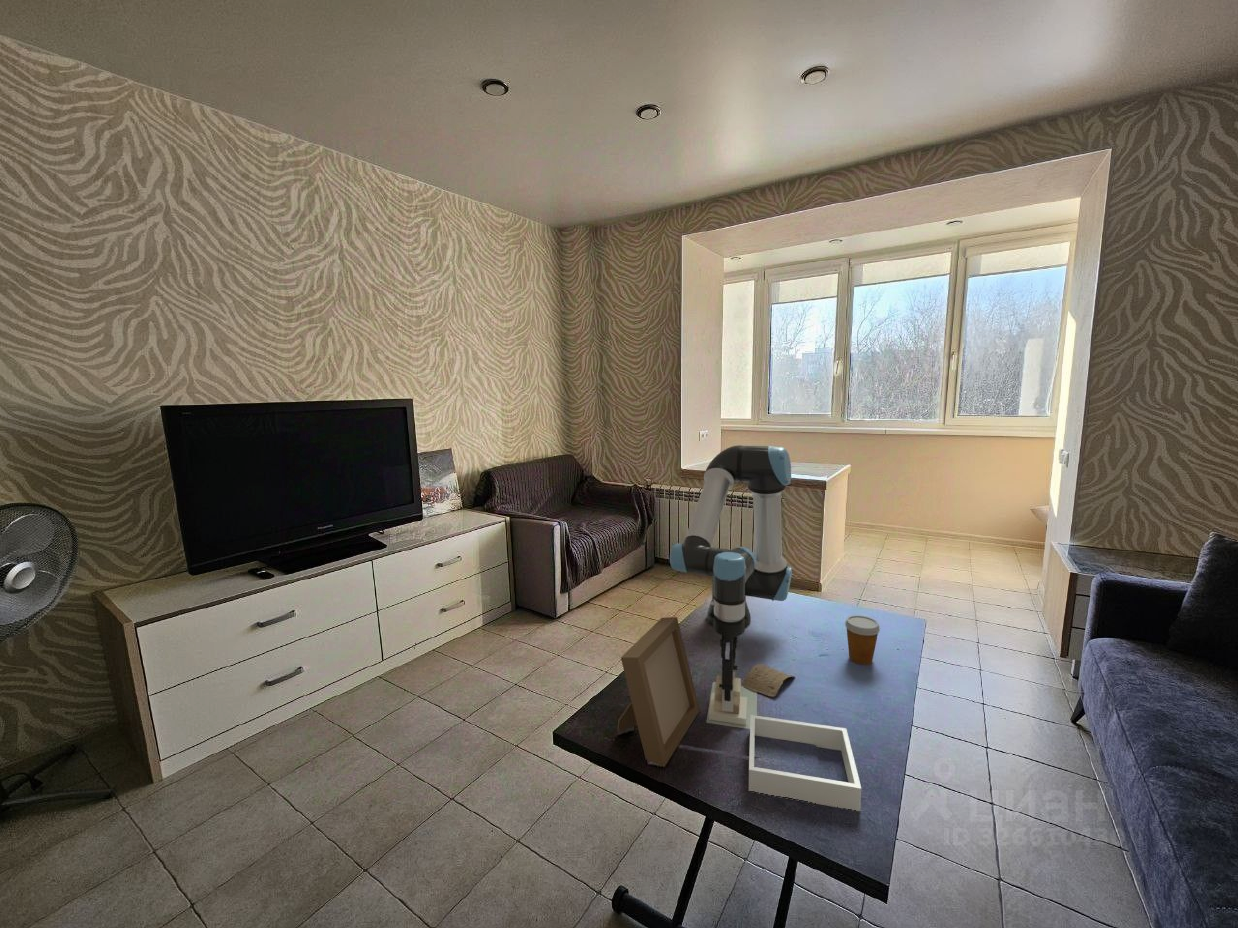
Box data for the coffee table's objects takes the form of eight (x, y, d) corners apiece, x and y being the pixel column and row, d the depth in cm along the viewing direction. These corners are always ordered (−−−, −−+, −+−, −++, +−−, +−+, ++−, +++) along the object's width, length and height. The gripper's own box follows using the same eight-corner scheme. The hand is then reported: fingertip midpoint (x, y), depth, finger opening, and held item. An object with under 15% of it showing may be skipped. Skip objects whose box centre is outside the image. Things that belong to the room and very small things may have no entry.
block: (740, 699, 131) (740, 678, 130) (738, 714, 125) (739, 691, 124) (716, 696, 132) (717, 674, 131) (714, 710, 126) (714, 687, 126)
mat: (712, 683, 142) (712, 681, 142) (757, 689, 139) (757, 687, 139) (706, 724, 125) (706, 722, 125) (756, 732, 122) (756, 729, 122)
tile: (712, 692, 134) (708, 713, 125) (747, 697, 132) (746, 718, 123) (712, 698, 134) (708, 719, 126) (747, 703, 132) (746, 725, 123)
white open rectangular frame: (750, 733, 121) (750, 714, 120) (845, 748, 116) (846, 728, 115) (748, 791, 104) (748, 769, 103) (860, 811, 98) (861, 788, 98)
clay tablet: (775, 699, 133) (775, 689, 133) (740, 685, 140) (740, 675, 139) (797, 678, 144) (797, 669, 144) (763, 666, 150) (764, 657, 150)
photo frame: (699, 714, 129) (698, 621, 125) (664, 770, 110) (661, 663, 107) (647, 698, 136) (644, 610, 133) (605, 749, 117) (601, 648, 114)
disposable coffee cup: (870, 671, 146) (872, 632, 144) (837, 658, 153) (839, 621, 152) (883, 659, 152) (885, 621, 151) (852, 647, 159) (853, 611, 158)
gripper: (716, 599, 135) (716, 679, 138) (710, 632, 117) (709, 723, 120) (745, 601, 133) (744, 683, 136) (743, 635, 115) (742, 728, 118)
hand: (728, 701), depth 128 cm, fingers open, 6 cm apart
